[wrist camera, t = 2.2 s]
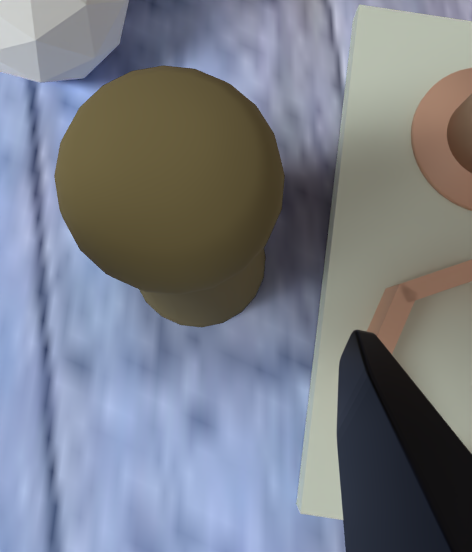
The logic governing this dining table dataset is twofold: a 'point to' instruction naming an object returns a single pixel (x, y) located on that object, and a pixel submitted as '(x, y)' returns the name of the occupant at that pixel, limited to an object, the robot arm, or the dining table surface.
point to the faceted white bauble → (58, 37)
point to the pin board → (397, 228)
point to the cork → (173, 190)
